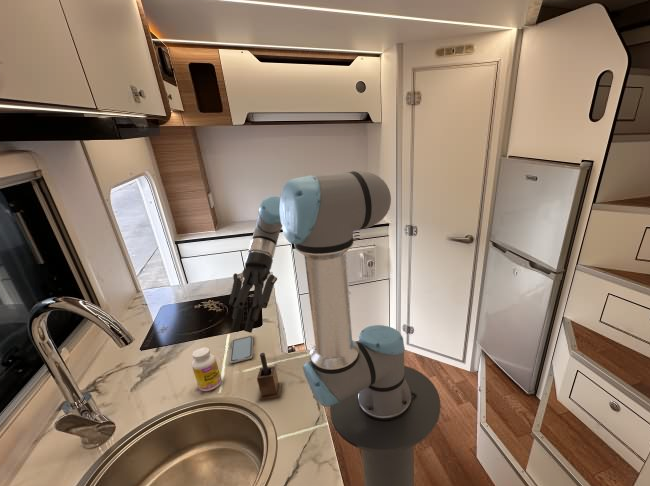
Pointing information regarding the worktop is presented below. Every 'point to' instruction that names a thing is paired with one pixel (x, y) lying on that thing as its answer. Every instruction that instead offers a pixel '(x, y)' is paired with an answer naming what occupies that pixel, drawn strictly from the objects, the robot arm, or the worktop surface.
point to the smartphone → (241, 349)
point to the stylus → (264, 364)
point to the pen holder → (268, 384)
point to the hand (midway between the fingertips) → (241, 331)
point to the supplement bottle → (205, 369)
